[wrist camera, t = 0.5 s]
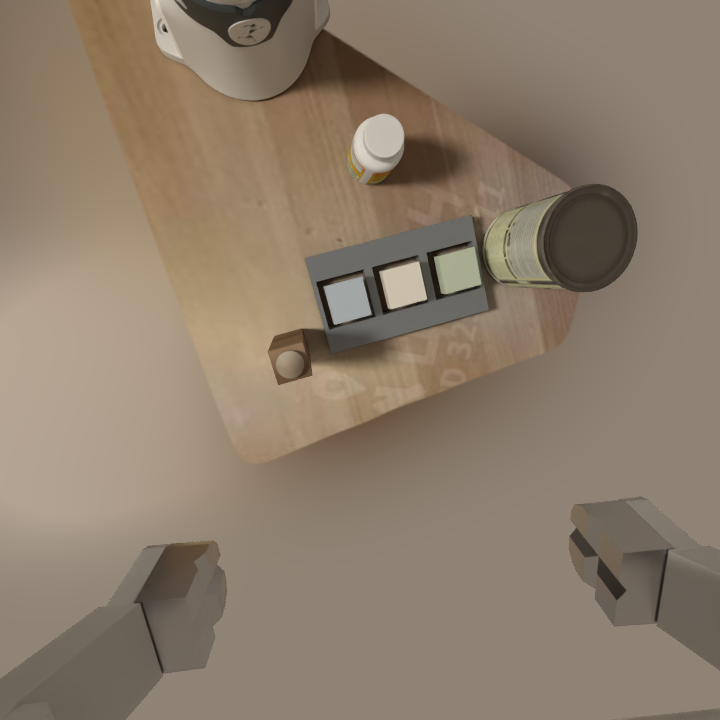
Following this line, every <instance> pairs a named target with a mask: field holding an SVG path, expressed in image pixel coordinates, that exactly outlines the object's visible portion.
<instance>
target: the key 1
mask: <svg viewBox="0 0 720 720" xmlns="http://www.w3.org/2000/svg"><path fill="white" fill-rule="evenodd" d="M323 287H324V291H325V294H326V298H327V302H328V305H329V309H330V313H331V316H332V320H333V323H334V325H336V324H340V323H343V322H347V321H350V320H354V319H358V318H361V317H365V316H369V315H372V314H371V310H370V306H369V302H368V298H367V294H366V290H365V286H364V282H363V278H362V277H361V276H360V277H356V278H353V279H349V280H345V281H341V282H338V283H334V284H330V285H326V286H323Z"/></svg>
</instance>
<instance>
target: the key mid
mask: <svg viewBox="0 0 720 720" xmlns="http://www.w3.org/2000/svg"><path fill="white" fill-rule="evenodd" d="M379 273H380V277H381V281H382V285H383V290H384V294H385V298H386V302H387V306H388V308H389V309H394V308H398V307H401V306H405V305H409V304H412V303H416V302H420V301H423V300H427V296H426V291H425V287H424V282H423V277H422V273H421V268H420V264H419V261H418V262H413V263H409V264H405V265H401V266H398V267H394V268H390V269H386V270H383V271H379Z"/></svg>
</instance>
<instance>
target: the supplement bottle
mask: <svg viewBox="0 0 720 720" xmlns="http://www.w3.org/2000/svg"><path fill="white" fill-rule="evenodd" d="M403 151H404V131H403V128H402V125H401V124H400V122H399V121H398V120H397V119H396V118H395V117H393V116H391V115H388V114H379V115H376V116H374V117H371V118H368V119H367V120H365V121H364V122H363V123H362V124H361V125H360V126H359V127H358V129H357V131H356V133H355V135H354V138H353V141H352V144H351V146H350V149H349V152H348V156H347V165H348V169H349V171H350V173H351V175H352V176H353V177H354V178H355V179H356V180H357V181H358V182H360V183H362V184H366V185H374V184H377V183H379V182H381V181H382V180H384V179H385V178H386V177H387V176H388V174H389V173H390V172H391V171H392V170H393V169H394V168H395V166H396V165H397V164H398V163H399V161H400V159H401V157H402V155H403Z"/></svg>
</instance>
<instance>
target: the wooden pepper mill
mask: <svg viewBox="0 0 720 720" xmlns="http://www.w3.org/2000/svg"><path fill="white" fill-rule="evenodd" d="M268 354H269V357H270V360H271V364H272V367H273V370H274V373H275V376H276V379H277V383H278V385H280V384H284V383H287V382H291V381H294V380H298V379H301V378H305V377H309V376H312V369H311V360H310V354H309V350H308V347H307V344H306V340H305V337H304V333H303V330H302V329H299V330H295V331H291V332H288V333H284V334H280V335H277V336H274V338H273V341H272V343H271V345H270V348H269V350H268Z"/></svg>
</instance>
